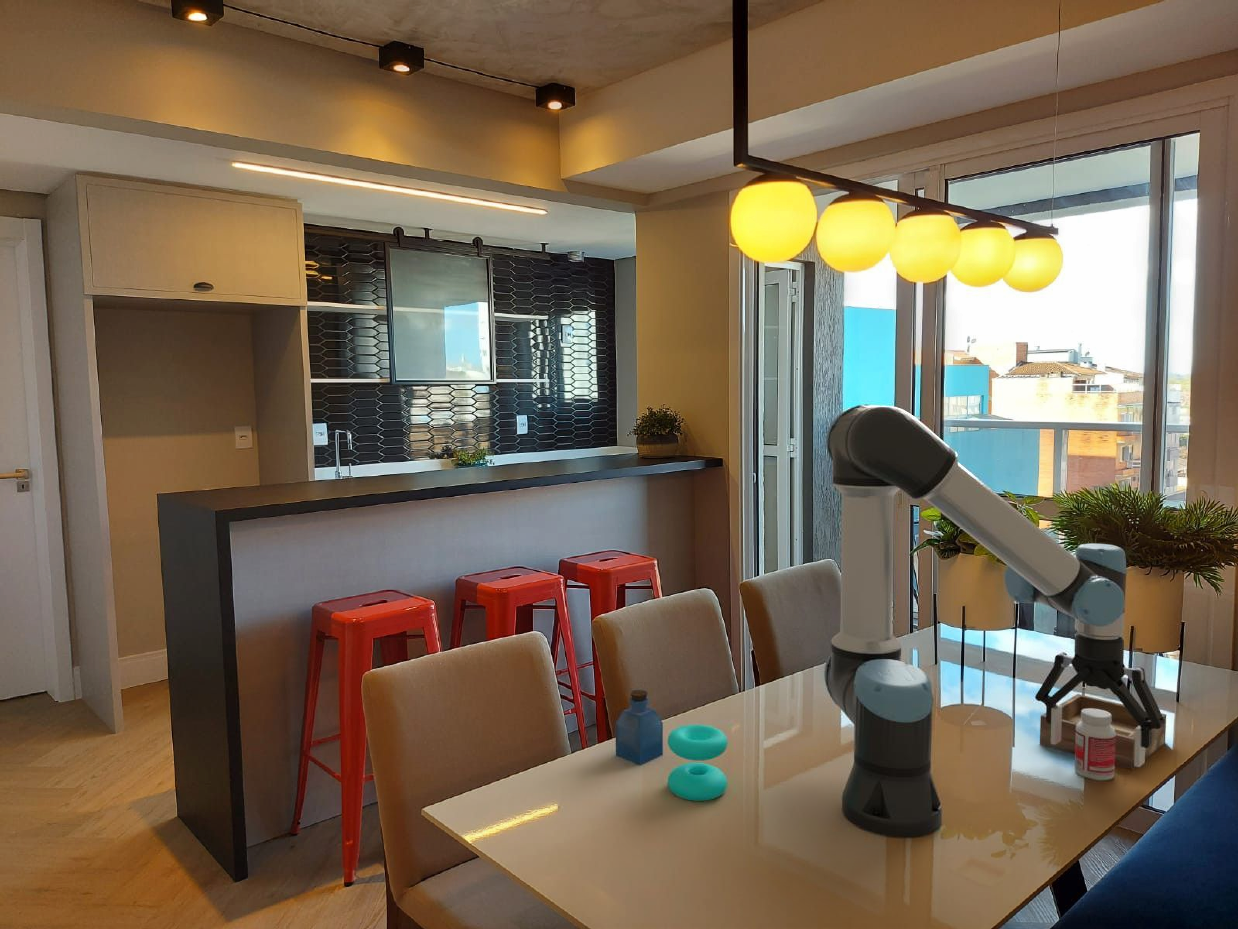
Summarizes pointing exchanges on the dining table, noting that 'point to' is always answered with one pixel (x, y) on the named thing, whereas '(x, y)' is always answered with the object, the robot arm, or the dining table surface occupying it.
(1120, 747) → the wooden box
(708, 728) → the donuts
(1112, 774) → the pill bottle
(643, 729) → the perfume bottle
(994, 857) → the dining table surface
